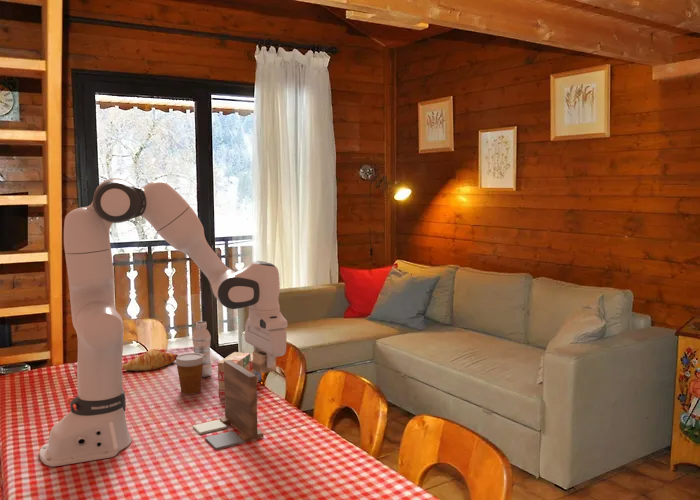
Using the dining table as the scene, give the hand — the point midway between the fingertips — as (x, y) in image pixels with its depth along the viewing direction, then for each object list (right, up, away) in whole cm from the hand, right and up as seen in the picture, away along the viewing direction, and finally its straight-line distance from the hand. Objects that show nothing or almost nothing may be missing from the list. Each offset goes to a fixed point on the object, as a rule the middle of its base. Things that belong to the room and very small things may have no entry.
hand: (264, 364), depth 179 cm
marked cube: (0, -2, 0) cm, 2 cm away
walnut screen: (-6, -18, -2) cm, 19 cm away
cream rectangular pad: (-15, -18, -1) cm, 24 cm away
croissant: (-51, -12, +57) cm, 78 cm away
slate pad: (-9, -19, -10) cm, 24 cm away
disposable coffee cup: (-29, -15, +30) cm, 44 cm away
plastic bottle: (-28, -13, +45) cm, 55 cm away
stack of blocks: (-12, -15, +33) cm, 38 cm away
